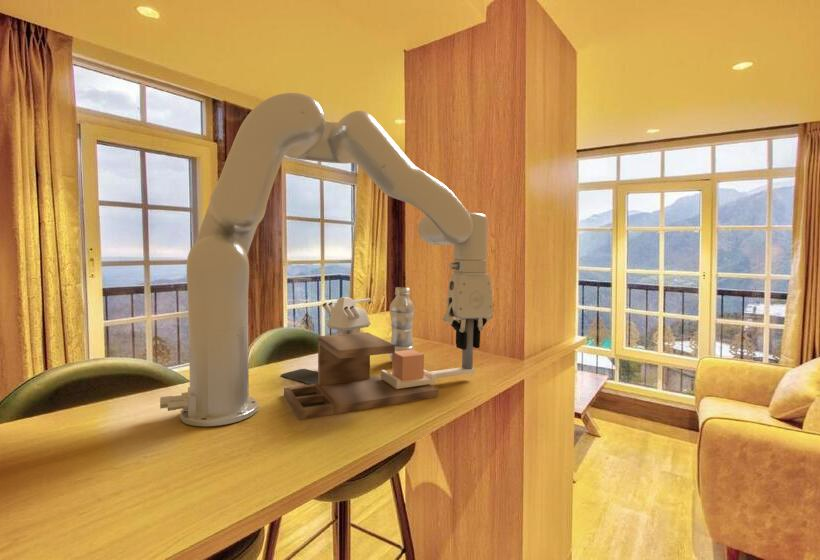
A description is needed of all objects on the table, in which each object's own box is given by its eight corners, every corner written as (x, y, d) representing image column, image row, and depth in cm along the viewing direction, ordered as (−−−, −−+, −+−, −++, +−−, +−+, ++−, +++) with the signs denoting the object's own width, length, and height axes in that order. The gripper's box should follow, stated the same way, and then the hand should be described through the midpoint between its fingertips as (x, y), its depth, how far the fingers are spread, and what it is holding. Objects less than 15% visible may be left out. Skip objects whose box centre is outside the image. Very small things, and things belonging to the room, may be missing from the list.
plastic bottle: (414, 366, 108) (415, 289, 107) (387, 365, 108) (388, 288, 107) (414, 359, 115) (415, 287, 113) (389, 359, 115) (390, 286, 114)
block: (402, 380, 86) (402, 356, 86) (392, 374, 91) (392, 351, 91) (423, 377, 89) (423, 354, 88) (412, 371, 93) (412, 349, 93)
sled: (396, 389, 84) (397, 324, 83) (380, 378, 91) (381, 319, 90) (481, 376, 94) (483, 318, 93) (461, 367, 101) (462, 313, 100)
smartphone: (303, 367, 104) (346, 378, 95) (303, 371, 104) (346, 382, 95) (278, 374, 98) (321, 386, 89) (278, 378, 98) (321, 390, 89)
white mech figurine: (385, 366, 107) (386, 296, 106) (346, 378, 97) (346, 300, 96) (353, 358, 115) (353, 293, 114) (313, 368, 105) (314, 296, 103)
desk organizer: (299, 419, 72) (299, 354, 72) (283, 395, 85) (283, 338, 84) (438, 396, 85) (439, 340, 85) (407, 378, 98) (407, 329, 97)
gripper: (448, 268, 88) (446, 354, 90) (508, 268, 96) (506, 348, 97) (430, 267, 95) (428, 347, 96) (488, 267, 103) (486, 341, 104)
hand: (467, 347), depth 97 cm, fingers open, 3 cm apart
